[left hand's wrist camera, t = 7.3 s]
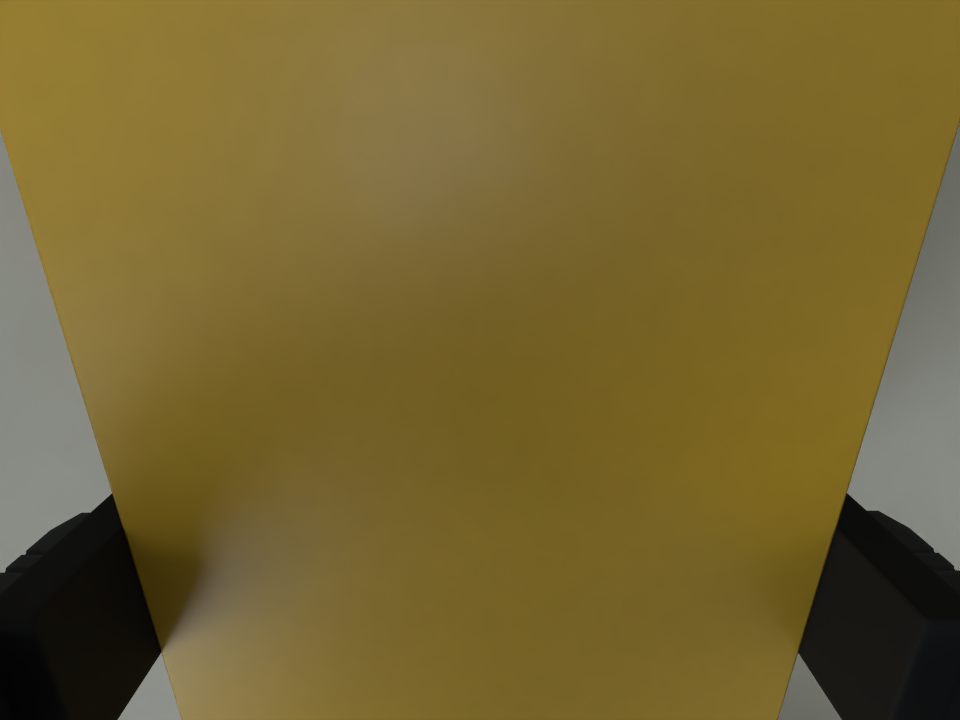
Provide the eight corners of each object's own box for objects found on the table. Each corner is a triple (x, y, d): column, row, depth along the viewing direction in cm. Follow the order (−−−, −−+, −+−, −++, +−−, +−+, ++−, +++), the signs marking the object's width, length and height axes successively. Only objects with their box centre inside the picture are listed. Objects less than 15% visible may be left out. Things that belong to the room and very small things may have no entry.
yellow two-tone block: (211, -247, 11) (-388, -1108, 3) (747, -248, 11) (1343, -1113, 3) (317, 515, 19) (199, 784, 11) (642, 515, 19) (760, 784, 11)
